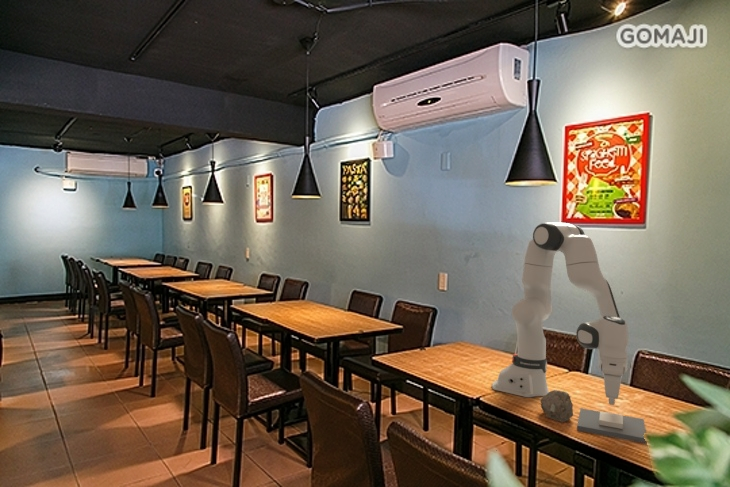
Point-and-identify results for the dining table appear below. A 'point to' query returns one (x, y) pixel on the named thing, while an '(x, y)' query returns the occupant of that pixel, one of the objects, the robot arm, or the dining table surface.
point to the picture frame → (611, 420)
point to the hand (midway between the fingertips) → (611, 403)
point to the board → (630, 431)
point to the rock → (557, 405)
